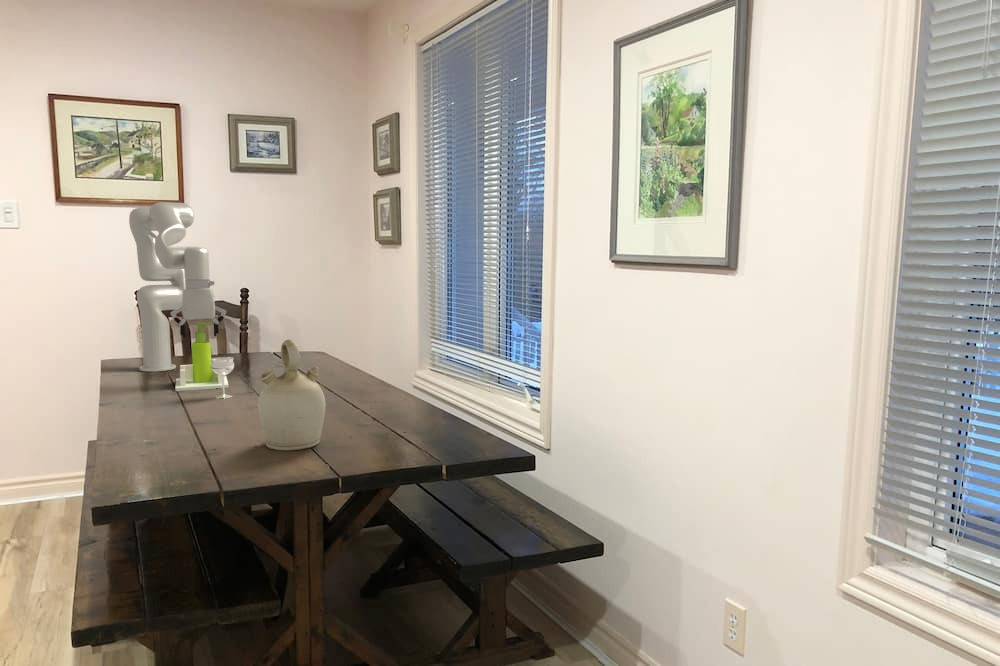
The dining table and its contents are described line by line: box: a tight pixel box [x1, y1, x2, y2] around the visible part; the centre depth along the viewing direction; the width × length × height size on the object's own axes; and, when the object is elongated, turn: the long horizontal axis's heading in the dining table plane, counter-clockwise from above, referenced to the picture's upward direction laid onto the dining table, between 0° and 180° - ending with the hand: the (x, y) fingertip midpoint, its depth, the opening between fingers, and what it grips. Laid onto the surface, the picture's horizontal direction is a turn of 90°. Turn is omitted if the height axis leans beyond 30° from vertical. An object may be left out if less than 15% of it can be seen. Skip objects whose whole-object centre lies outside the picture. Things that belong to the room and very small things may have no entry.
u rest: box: [174, 364, 229, 392], centre depth 250 cm, size 18×16×6 cm
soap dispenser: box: [191, 321, 214, 383], centre depth 249 cm, size 6×7×20 cm
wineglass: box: [211, 356, 235, 399], centre depth 229 cm, size 7×7×12 cm
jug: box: [257, 339, 327, 452], centre depth 175 cm, size 15×16×25 cm
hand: (199, 336), depth 248 cm, fingers open, 9 cm apart
